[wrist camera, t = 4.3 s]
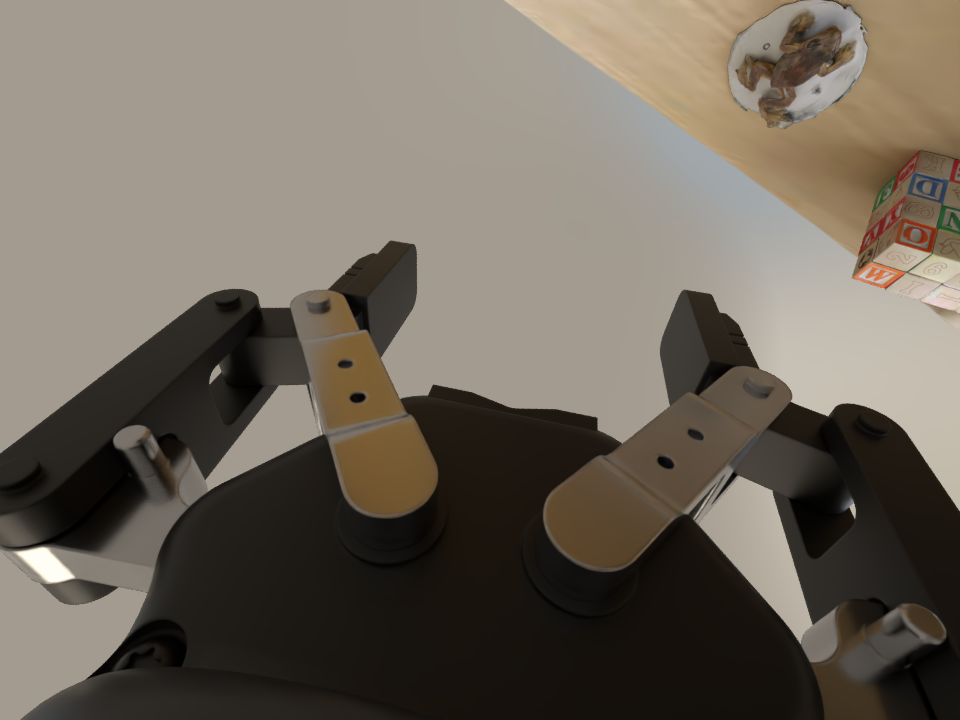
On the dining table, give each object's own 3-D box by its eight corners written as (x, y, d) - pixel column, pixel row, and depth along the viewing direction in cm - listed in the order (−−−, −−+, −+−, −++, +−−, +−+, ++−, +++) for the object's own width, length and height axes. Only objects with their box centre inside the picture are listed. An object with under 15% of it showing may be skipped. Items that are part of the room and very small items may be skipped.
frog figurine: (790, -33, 38) (778, -5, 37) (908, 41, 38) (899, 71, 37) (702, 79, 49) (690, 103, 48) (794, 136, 49) (785, 161, 48)
